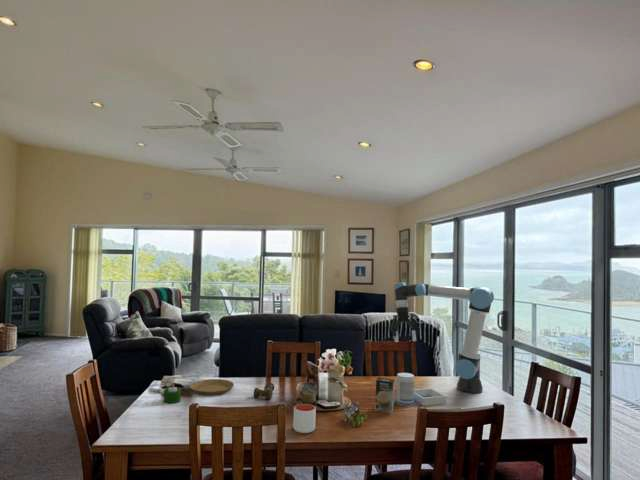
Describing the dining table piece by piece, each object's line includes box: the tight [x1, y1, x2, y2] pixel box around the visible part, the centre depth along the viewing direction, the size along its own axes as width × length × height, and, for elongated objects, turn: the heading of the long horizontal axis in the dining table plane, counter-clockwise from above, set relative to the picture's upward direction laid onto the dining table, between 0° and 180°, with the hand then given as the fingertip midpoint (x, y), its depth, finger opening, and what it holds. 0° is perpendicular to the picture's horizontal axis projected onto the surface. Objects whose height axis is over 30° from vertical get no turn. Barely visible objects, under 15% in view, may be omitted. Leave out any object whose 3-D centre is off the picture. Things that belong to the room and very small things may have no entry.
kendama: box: [253, 382, 275, 400], centre depth 241 cm, size 6×10×20 cm
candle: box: [163, 381, 182, 405], centre depth 228 cm, size 8×8×10 cm
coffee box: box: [374, 376, 396, 415], centre depth 225 cm, size 9×6×16 cm
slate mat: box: [394, 397, 421, 407], centre depth 240 cm, size 12×12×1 cm
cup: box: [292, 403, 317, 434], centre depth 197 cm, size 10×10×10 cm
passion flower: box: [342, 401, 368, 428], centre depth 207 cm, size 11×11×12 cm
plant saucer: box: [190, 378, 235, 397], centre depth 248 cm, size 24×24×3 cm
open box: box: [414, 387, 448, 406], centre depth 244 cm, size 15×15×4 cm
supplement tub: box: [396, 372, 415, 404], centre depth 240 cm, size 10×10×15 cm
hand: (405, 341), depth 270 cm, fingers open, 13 cm apart
